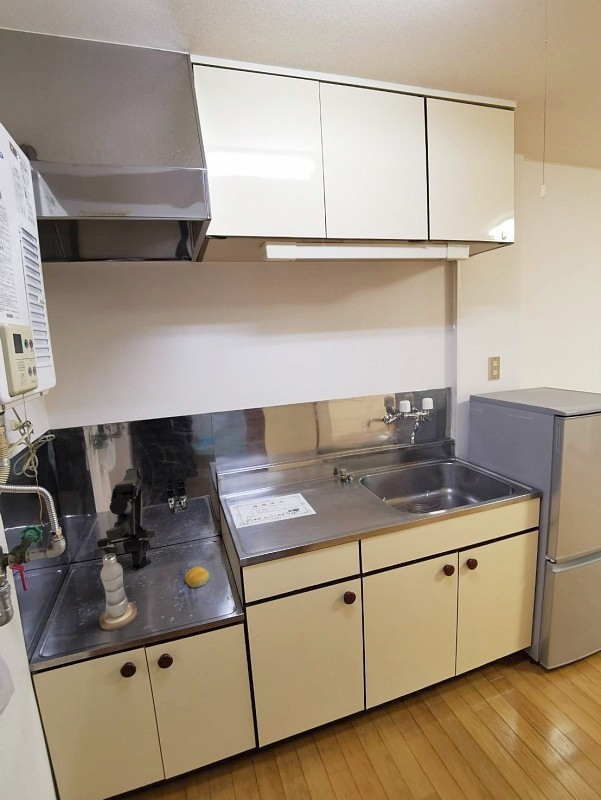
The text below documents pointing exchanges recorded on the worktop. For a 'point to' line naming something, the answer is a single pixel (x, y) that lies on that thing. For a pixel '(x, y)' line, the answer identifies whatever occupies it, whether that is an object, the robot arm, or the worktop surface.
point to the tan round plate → (118, 618)
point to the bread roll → (196, 577)
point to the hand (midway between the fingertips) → (126, 565)
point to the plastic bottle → (113, 586)
